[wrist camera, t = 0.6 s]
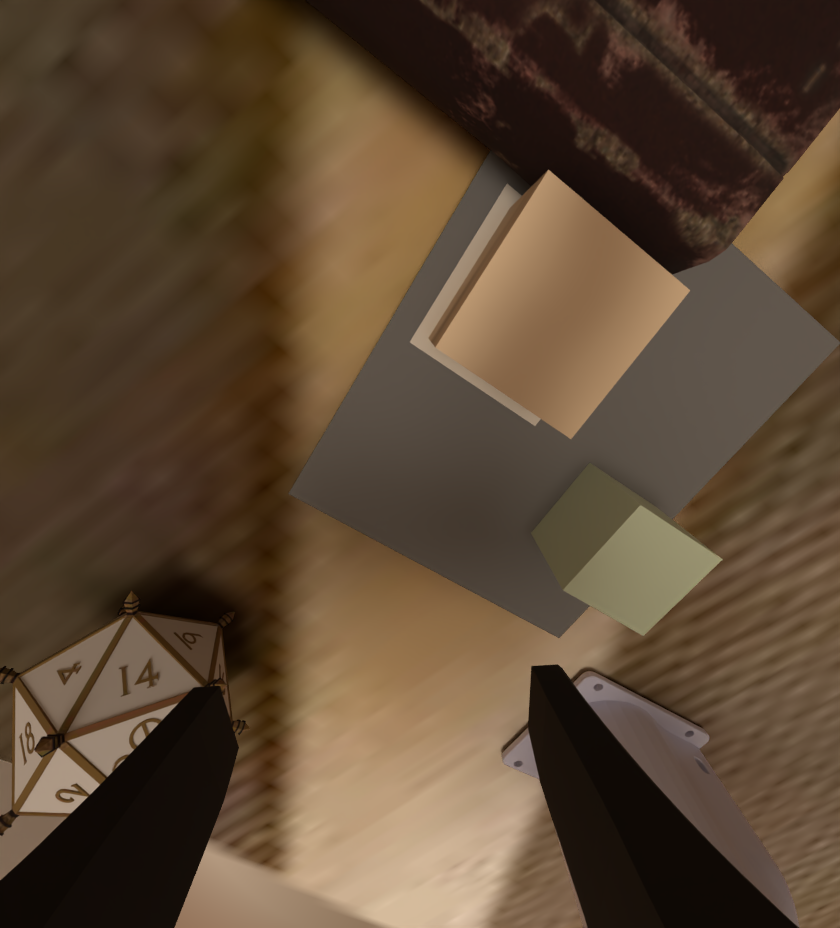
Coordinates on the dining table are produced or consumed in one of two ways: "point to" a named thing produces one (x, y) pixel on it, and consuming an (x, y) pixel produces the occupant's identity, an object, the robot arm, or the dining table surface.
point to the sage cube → (620, 551)
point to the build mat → (533, 440)
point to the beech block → (556, 306)
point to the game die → (104, 703)
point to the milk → (19, 827)
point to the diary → (626, 98)
